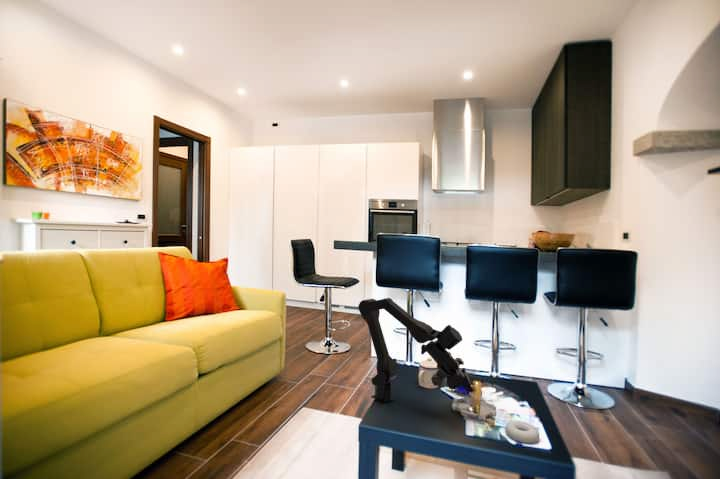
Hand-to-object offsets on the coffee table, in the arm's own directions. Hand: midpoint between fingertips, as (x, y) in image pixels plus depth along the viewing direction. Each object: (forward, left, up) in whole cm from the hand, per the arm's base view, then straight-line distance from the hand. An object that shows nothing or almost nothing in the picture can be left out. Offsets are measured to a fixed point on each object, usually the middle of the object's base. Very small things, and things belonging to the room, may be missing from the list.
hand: (472, 391), depth 127 cm
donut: (+16, +5, -10) cm, 19 cm away
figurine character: (-16, +15, -10) cm, 25 cm away
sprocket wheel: (-3, +5, -9) cm, 11 cm away
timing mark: (+5, +3, -10) cm, 11 cm away
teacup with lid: (-30, +8, -10) cm, 33 cm away
